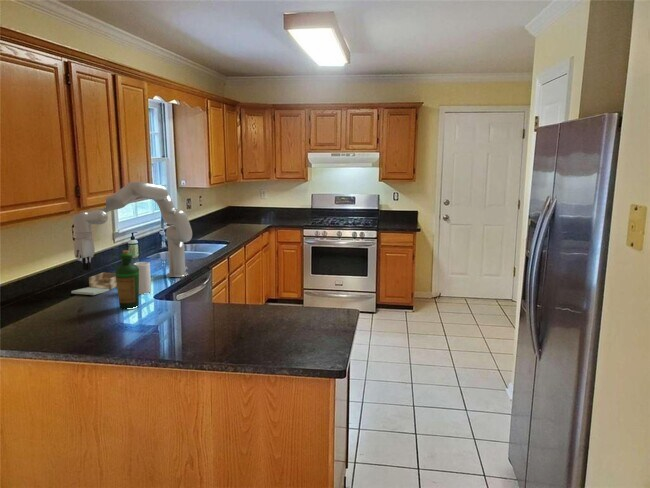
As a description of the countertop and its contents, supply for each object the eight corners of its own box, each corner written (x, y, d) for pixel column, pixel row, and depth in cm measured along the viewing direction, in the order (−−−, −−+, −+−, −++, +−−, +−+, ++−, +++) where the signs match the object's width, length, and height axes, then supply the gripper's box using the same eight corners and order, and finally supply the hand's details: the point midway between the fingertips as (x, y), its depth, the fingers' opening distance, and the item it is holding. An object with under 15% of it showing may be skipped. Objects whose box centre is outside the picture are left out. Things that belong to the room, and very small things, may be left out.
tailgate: (89, 287, 251) (71, 291, 238) (110, 288, 249) (93, 292, 235) (89, 289, 251) (71, 293, 238) (110, 290, 249) (93, 295, 236)
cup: (154, 290, 251) (152, 262, 248) (146, 294, 243) (145, 265, 240) (139, 290, 252) (138, 261, 249) (132, 294, 244) (130, 264, 241)
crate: (103, 283, 263) (102, 272, 262) (124, 284, 261) (123, 273, 260) (89, 289, 252) (88, 277, 250) (111, 290, 249) (110, 279, 248)
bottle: (112, 308, 219) (108, 251, 214) (130, 303, 229) (127, 248, 224) (127, 312, 215) (124, 254, 210) (146, 306, 224) (143, 250, 219)
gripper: (86, 232, 243) (90, 266, 247) (66, 237, 229) (70, 273, 232) (99, 233, 242) (102, 266, 245) (80, 238, 227) (83, 274, 231)
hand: (87, 269), depth 239 cm, fingers closed
